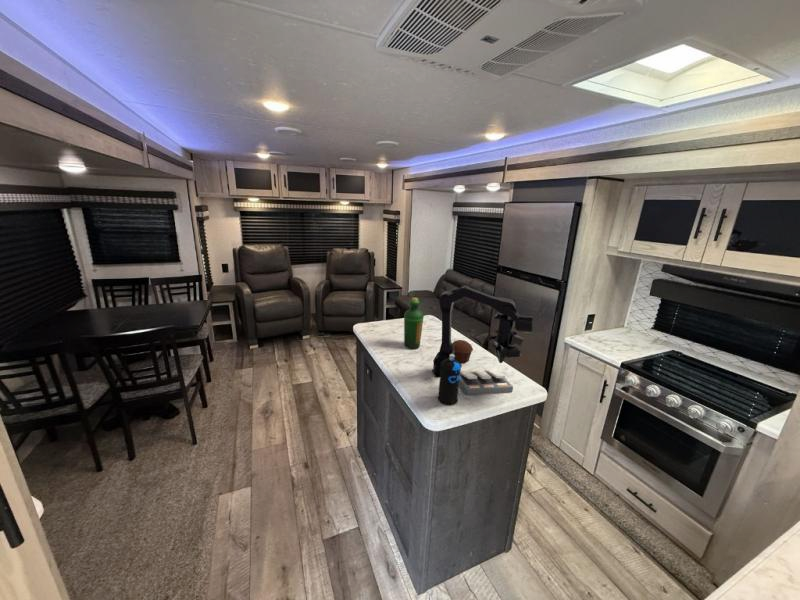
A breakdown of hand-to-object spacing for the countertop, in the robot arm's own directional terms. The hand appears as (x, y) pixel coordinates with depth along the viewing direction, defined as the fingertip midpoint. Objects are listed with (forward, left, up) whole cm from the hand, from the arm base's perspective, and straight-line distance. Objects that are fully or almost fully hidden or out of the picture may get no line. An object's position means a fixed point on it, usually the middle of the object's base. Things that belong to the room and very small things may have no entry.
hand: (500, 362), depth 134 cm
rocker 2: (-6, +3, -8) cm, 10 cm away
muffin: (-7, +26, -12) cm, 30 cm away
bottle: (-29, +43, -12) cm, 53 cm away
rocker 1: (-12, +3, -8) cm, 15 cm away
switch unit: (-6, +2, -12) cm, 13 cm away
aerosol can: (-25, -7, -12) cm, 29 cm away
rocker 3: (+1, +3, -8) cm, 8 cm away
